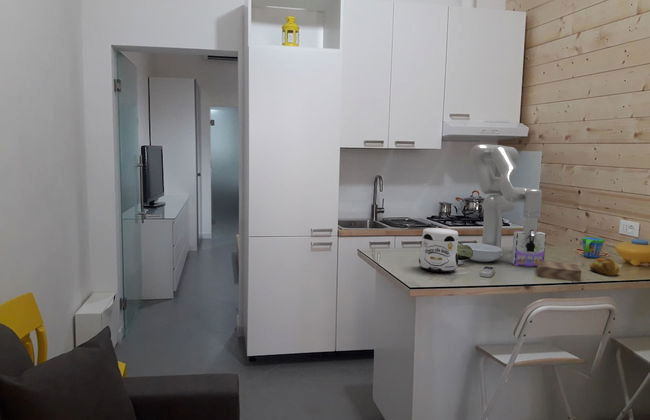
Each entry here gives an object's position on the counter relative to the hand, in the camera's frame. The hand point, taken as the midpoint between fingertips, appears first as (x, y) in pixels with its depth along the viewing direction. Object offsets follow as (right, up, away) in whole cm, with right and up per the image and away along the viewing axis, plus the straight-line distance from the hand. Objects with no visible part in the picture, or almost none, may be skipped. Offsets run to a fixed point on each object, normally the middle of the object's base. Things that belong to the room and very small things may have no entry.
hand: (528, 249), depth 247 cm
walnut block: (+6, -11, -18) cm, 21 cm away
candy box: (0, -8, +1) cm, 8 cm away
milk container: (-48, -8, -17) cm, 51 cm away
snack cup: (+45, -6, +29) cm, 54 cm away
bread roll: (+31, -10, -9) cm, 34 cm away
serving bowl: (-21, -6, +9) cm, 24 cm away
